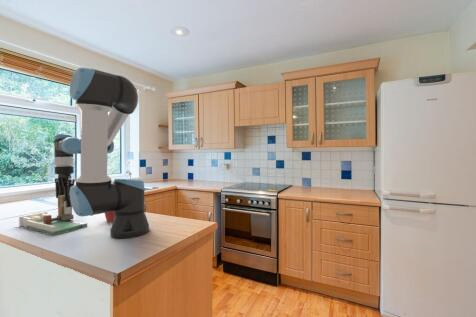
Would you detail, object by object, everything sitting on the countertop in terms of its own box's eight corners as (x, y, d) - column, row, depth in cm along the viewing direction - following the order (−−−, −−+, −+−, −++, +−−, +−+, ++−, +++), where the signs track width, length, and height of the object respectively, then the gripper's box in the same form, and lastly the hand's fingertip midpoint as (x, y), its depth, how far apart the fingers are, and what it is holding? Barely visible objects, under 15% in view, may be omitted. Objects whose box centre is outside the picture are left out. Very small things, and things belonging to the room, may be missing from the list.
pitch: (81, 228, 108) (81, 218, 108) (53, 235, 98) (53, 224, 98) (46, 220, 122) (46, 211, 122) (19, 226, 112) (18, 216, 112)
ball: (39, 224, 117) (43, 221, 116) (29, 226, 114) (33, 223, 112) (37, 216, 118) (41, 214, 116) (27, 218, 115) (31, 215, 113)
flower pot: (117, 223, 115) (116, 203, 115) (97, 222, 117) (97, 202, 117) (131, 217, 125) (131, 199, 125) (113, 216, 127) (112, 198, 127)
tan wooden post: (73, 218, 117) (72, 194, 117) (47, 224, 108) (47, 198, 108) (66, 217, 120) (66, 193, 120) (41, 223, 110) (40, 197, 110)
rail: (87, 226, 111) (87, 223, 111) (81, 227, 109) (81, 224, 109) (59, 220, 122) (59, 217, 122) (53, 221, 119) (53, 218, 119)
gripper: (82, 165, 116) (83, 213, 116) (63, 165, 123) (64, 209, 124) (65, 166, 109) (66, 217, 110) (46, 165, 117) (47, 213, 117)
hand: (65, 213), depth 117 cm, fingers closed on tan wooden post, 4 cm apart
